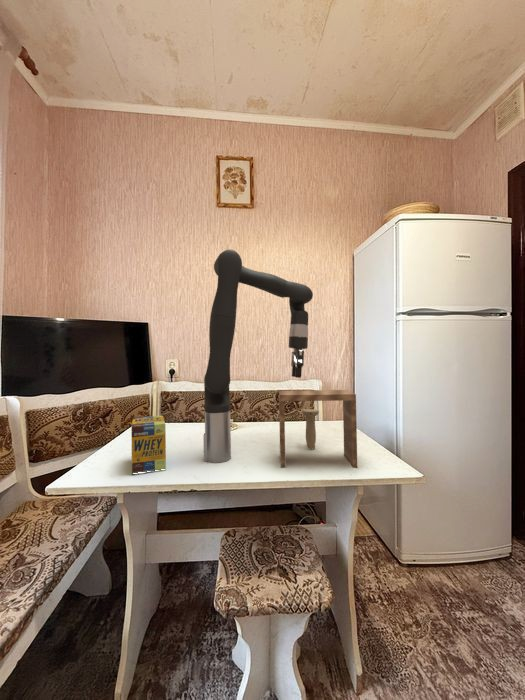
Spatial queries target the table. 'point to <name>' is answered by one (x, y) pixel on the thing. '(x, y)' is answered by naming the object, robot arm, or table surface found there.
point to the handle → (310, 427)
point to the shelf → (324, 395)
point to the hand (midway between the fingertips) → (296, 377)
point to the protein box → (148, 444)
